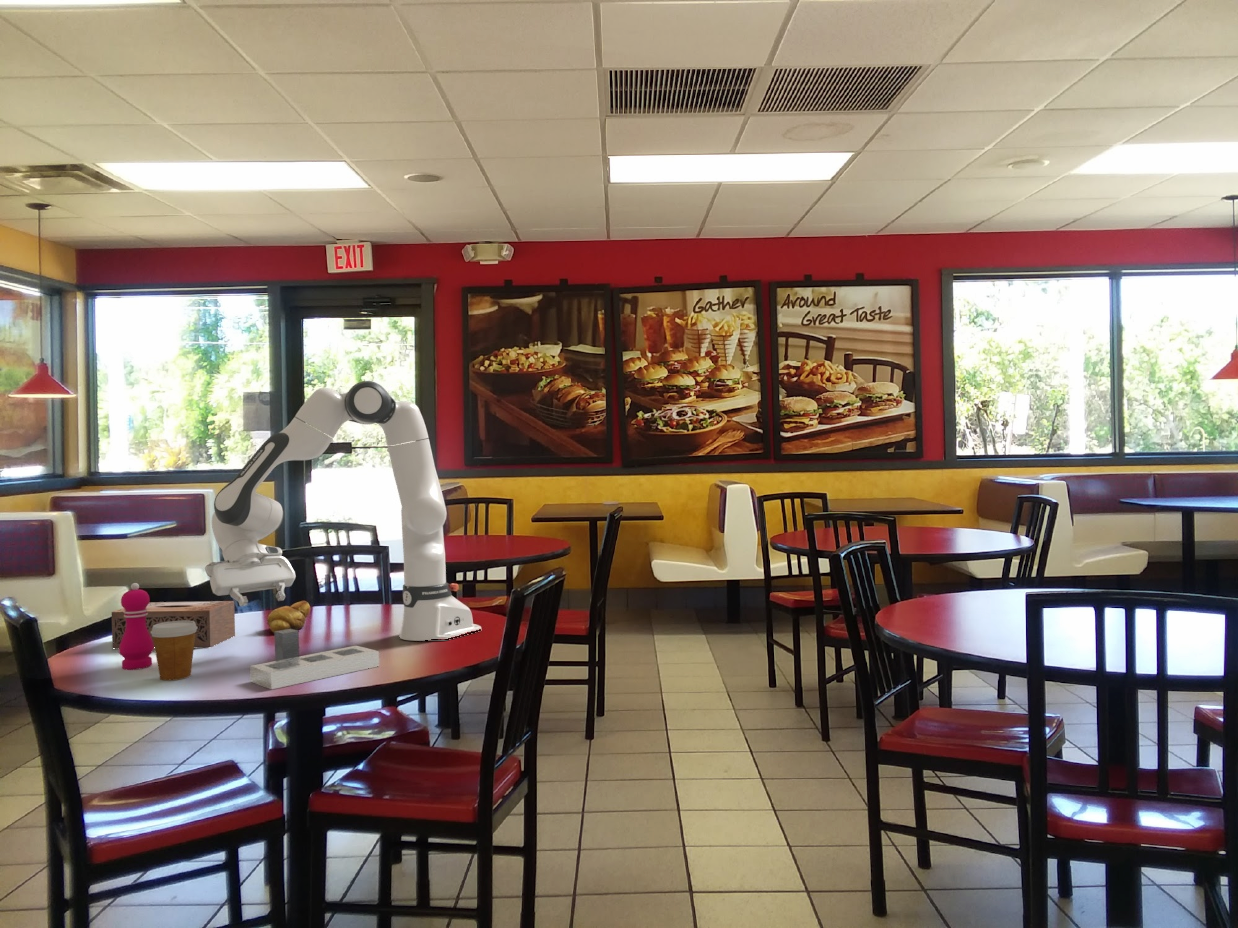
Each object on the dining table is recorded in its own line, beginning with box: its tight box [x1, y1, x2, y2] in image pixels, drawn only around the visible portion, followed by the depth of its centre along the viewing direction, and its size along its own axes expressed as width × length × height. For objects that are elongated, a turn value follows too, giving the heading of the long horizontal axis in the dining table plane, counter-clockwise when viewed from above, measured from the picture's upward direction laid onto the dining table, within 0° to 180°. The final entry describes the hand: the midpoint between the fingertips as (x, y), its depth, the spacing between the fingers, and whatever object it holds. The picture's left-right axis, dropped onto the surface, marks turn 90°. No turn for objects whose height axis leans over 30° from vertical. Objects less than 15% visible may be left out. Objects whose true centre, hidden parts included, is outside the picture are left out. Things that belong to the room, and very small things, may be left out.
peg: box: [273, 629, 300, 661], centre depth 211 cm, size 4×4×8 cm
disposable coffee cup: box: [151, 621, 197, 681], centre depth 201 cm, size 10×10×12 cm
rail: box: [249, 645, 380, 690], centre depth 202 cm, size 26×10×4 cm, turn 137°
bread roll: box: [266, 600, 311, 633], centre depth 253 cm, size 13×10×8 cm
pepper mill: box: [118, 582, 155, 670], centre depth 212 cm, size 7×7×20 cm
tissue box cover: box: [111, 600, 236, 649], centre depth 239 cm, size 26×14×10 cm, turn 89°
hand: (263, 601), depth 219 cm, fingers open, 8 cm apart
